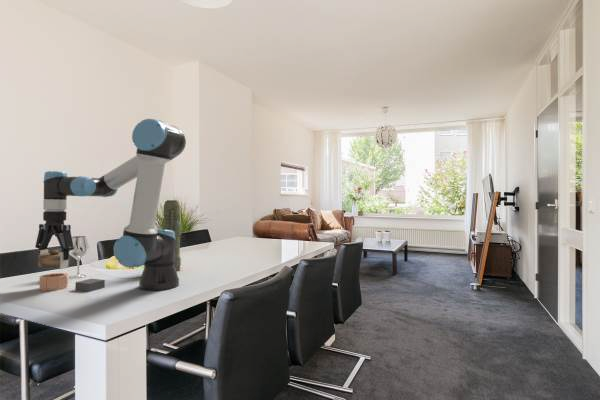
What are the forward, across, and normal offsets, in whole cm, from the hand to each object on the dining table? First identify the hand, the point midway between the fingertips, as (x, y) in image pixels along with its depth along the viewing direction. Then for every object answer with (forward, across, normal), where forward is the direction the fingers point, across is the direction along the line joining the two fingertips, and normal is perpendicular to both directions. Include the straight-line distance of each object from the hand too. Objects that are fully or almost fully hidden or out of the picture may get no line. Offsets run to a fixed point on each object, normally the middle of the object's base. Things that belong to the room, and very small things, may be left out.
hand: (53, 267), depth 140 cm
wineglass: (+8, +10, -19) cm, 23 cm away
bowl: (+8, 0, 0) cm, 8 cm away
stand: (+8, -14, -4) cm, 17 cm away
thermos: (+8, -20, -45) cm, 50 cm away
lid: (-1, 0, 0) cm, 1 cm away
